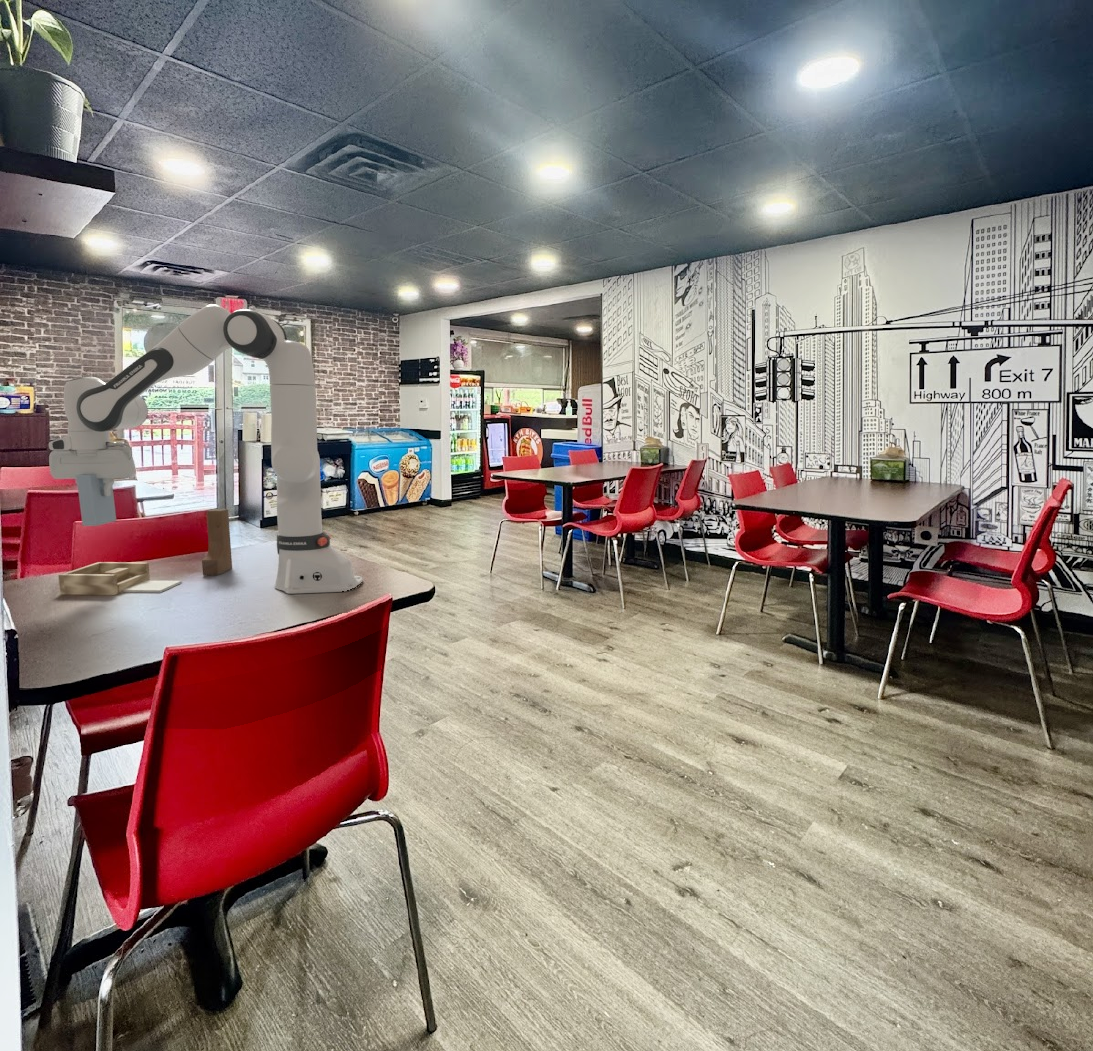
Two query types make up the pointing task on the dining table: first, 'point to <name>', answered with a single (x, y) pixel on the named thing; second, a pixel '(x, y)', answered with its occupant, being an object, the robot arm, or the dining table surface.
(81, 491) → the grey block
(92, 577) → the tray
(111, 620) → the dining table surface
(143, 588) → the felt pad
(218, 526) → the wooden block
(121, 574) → the offcut oak
